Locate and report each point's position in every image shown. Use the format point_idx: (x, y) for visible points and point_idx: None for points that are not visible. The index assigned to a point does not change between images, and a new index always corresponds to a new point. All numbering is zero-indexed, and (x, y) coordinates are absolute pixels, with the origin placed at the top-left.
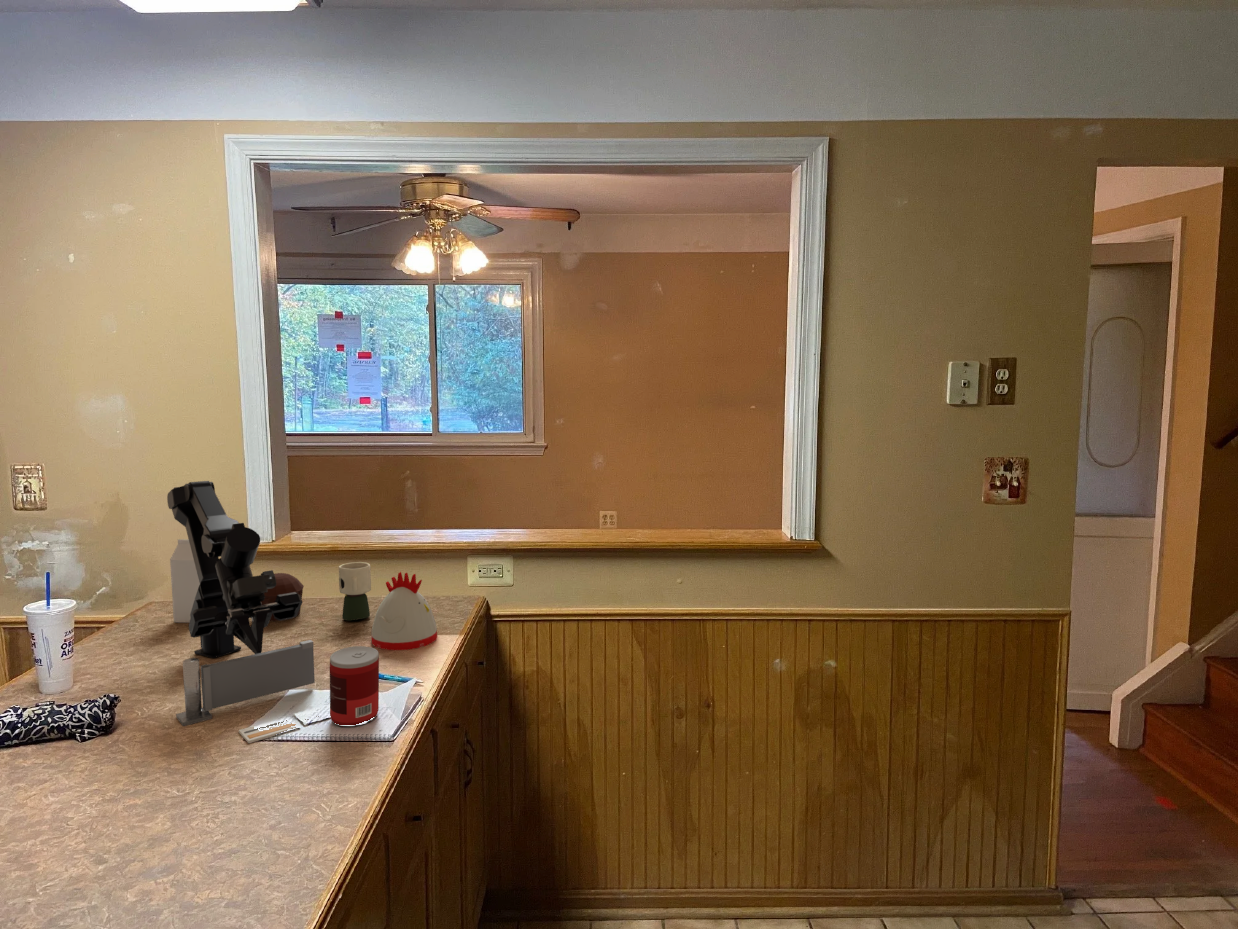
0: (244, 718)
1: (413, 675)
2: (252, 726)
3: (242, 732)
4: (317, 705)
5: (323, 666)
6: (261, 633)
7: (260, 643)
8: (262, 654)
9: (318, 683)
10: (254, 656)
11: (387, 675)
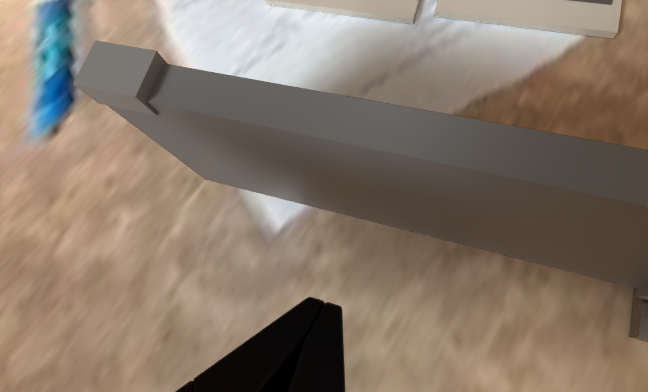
0: (540, 127)
1: (20, 18)
2: (566, 25)
3: (616, 7)
4: (317, 38)
5: (44, 334)
6: (205, 385)
7: (282, 328)
8: (410, 113)
9: (183, 194)
10: (472, 120)
11: (43, 73)
